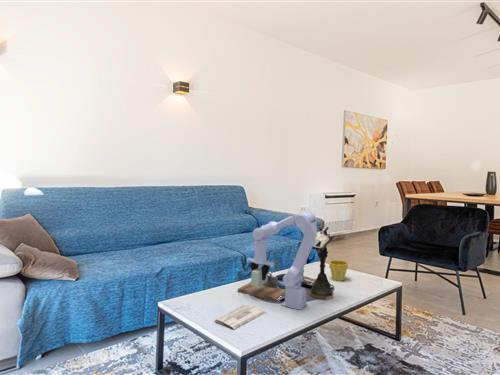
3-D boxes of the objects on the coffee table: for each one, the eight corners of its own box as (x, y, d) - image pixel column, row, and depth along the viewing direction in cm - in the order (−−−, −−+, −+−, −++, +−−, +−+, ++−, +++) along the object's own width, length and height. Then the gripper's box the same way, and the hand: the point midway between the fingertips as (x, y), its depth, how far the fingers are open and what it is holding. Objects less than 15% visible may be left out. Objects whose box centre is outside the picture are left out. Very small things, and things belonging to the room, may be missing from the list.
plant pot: (325, 277, 208) (325, 260, 207) (341, 275, 211) (341, 259, 210) (334, 282, 198) (335, 265, 198) (350, 281, 201) (351, 264, 201)
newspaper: (244, 306, 166) (245, 301, 165) (266, 316, 158) (266, 311, 158) (209, 322, 148) (210, 317, 148) (231, 334, 141) (232, 328, 140)
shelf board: (288, 293, 182) (288, 279, 181) (276, 301, 171) (276, 286, 170) (251, 284, 193) (251, 271, 193) (237, 291, 182) (238, 278, 182)
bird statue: (316, 305, 167) (319, 230, 164) (297, 296, 178) (299, 226, 175) (340, 298, 176) (343, 227, 174) (321, 289, 187) (324, 223, 184)
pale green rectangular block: (267, 281, 180) (267, 267, 179) (258, 286, 172) (258, 272, 171) (260, 279, 182) (260, 266, 181) (251, 285, 174) (251, 271, 173)
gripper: (277, 252, 175) (276, 279, 176) (251, 248, 183) (251, 274, 184) (270, 255, 169) (269, 283, 170) (244, 250, 177) (244, 277, 178)
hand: (259, 279), depth 177 cm, fingers closed on pale green rectangular block, 4 cm apart
